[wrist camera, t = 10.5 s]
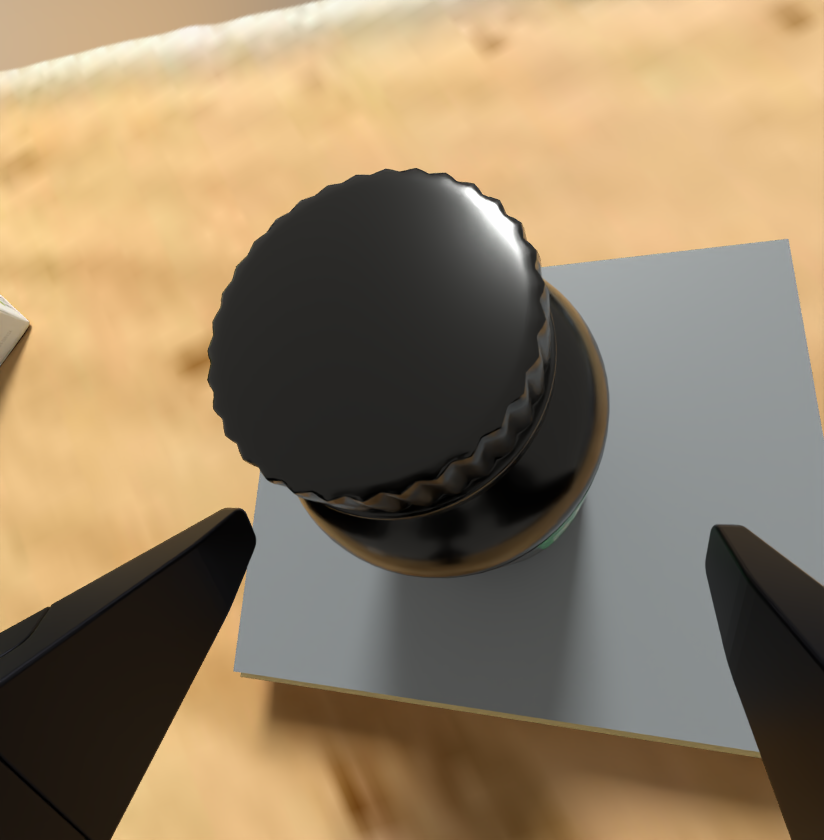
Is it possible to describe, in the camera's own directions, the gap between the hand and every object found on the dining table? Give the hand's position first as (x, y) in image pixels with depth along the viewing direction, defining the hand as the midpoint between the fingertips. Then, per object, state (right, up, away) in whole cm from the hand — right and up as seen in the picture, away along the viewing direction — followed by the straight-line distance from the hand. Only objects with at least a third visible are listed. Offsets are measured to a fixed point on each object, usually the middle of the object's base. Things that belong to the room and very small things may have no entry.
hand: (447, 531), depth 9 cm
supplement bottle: (+2, 0, +8) cm, 9 cm away
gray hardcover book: (+3, 0, +11) cm, 11 cm away
